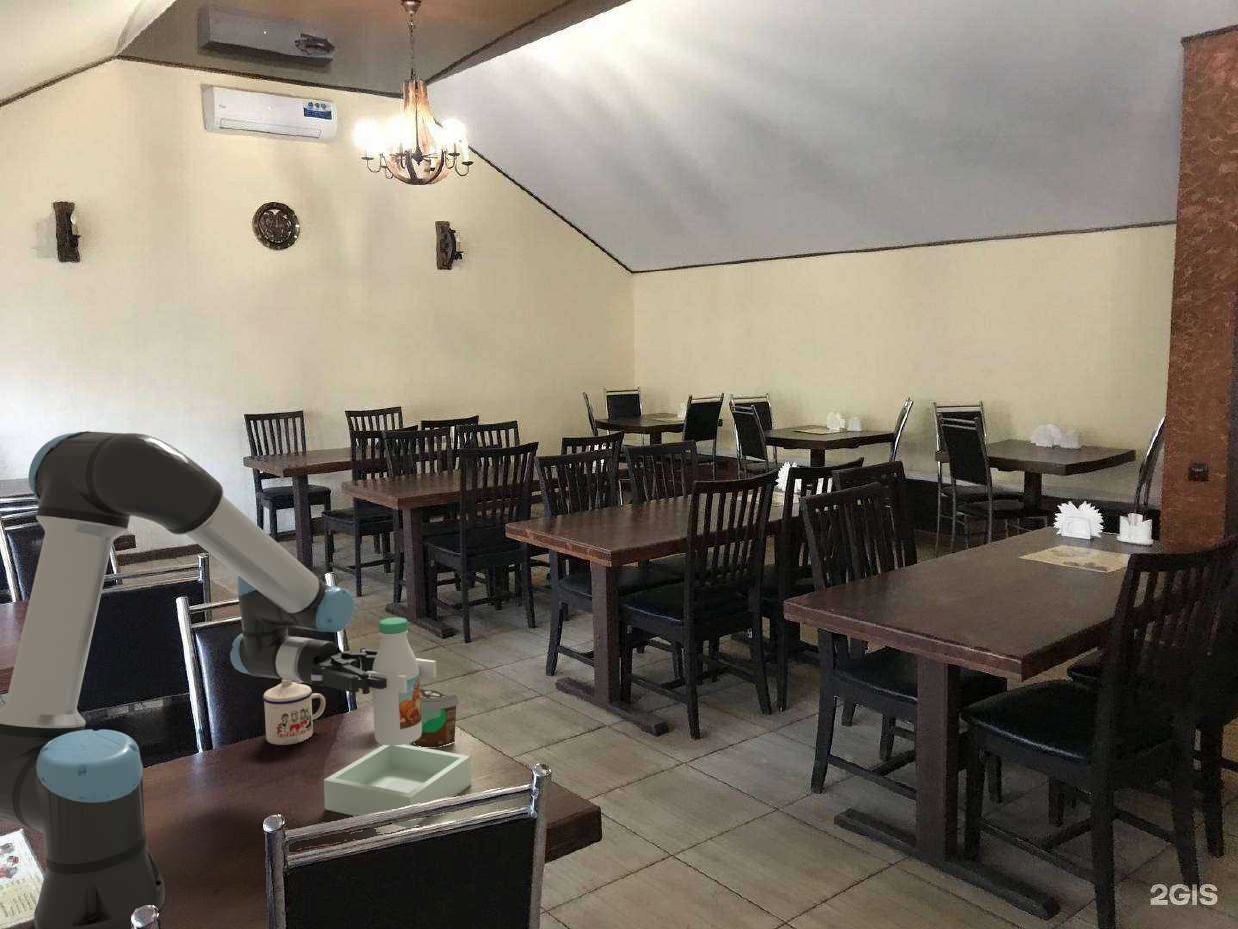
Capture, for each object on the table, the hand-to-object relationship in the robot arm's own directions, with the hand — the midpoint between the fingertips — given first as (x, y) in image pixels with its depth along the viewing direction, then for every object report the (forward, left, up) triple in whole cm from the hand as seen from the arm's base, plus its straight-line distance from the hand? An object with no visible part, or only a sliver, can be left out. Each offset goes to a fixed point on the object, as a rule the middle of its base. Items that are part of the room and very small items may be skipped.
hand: (420, 676), depth 155 cm
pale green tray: (0, +5, -21) cm, 22 cm away
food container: (+20, +14, -21) cm, 33 cm away
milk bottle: (0, +5, -11) cm, 12 cm away
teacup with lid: (+14, +40, -21) cm, 48 cm away
